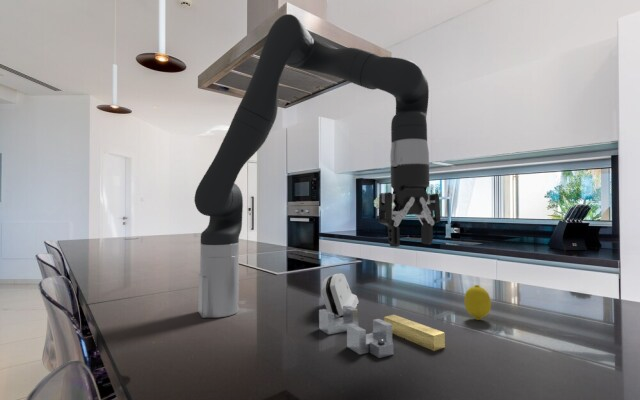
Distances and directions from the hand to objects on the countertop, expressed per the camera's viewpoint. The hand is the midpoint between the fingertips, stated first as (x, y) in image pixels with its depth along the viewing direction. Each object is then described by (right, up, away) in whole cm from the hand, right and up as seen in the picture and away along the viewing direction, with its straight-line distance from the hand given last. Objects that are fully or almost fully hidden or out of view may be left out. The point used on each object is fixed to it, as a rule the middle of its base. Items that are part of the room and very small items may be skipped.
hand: (411, 245), depth 67 cm
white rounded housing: (-13, -20, +20) cm, 31 cm away
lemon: (+18, -19, +10) cm, 28 cm away
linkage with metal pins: (-12, -18, 0) cm, 22 cm away
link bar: (0, -19, -1) cm, 19 cm away
